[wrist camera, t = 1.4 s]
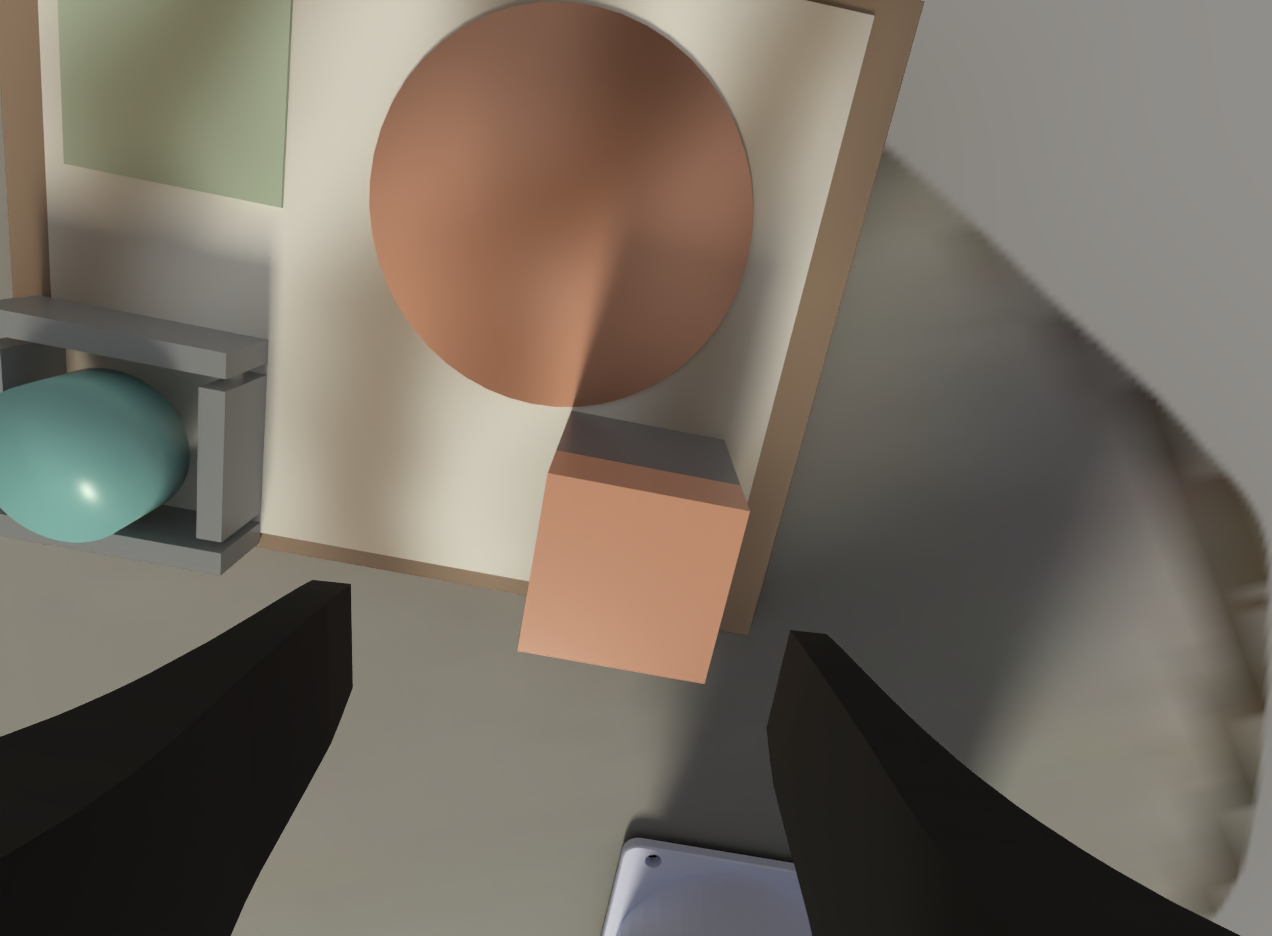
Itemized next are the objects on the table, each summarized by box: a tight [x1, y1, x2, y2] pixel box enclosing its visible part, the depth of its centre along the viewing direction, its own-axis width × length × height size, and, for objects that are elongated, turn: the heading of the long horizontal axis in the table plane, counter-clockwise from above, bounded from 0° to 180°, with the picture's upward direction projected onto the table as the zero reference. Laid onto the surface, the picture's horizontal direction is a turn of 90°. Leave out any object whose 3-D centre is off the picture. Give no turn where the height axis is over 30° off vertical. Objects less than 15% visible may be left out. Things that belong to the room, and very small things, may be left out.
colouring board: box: [0, 0, 924, 636], centre depth 19 cm, size 20×16×1 cm
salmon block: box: [518, 410, 750, 684], centre depth 18 cm, size 4×4×5 cm
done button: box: [0, 368, 190, 543], centre depth 17 cm, size 4×4×2 cm
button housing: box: [0, 295, 268, 575], centre depth 19 cm, size 6×6×2 cm
